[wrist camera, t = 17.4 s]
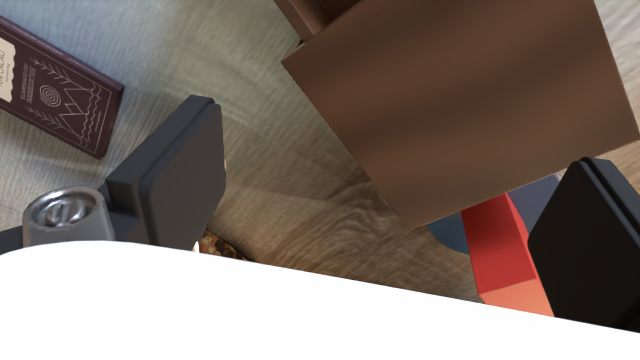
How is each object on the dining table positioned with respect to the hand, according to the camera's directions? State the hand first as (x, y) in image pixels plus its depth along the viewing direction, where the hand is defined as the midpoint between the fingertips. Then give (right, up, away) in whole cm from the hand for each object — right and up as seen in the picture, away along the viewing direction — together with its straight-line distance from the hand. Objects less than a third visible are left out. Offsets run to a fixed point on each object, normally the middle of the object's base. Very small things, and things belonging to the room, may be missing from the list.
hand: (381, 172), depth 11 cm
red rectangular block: (+14, -3, +25) cm, 29 cm away
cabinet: (+7, +10, +18) cm, 22 cm away
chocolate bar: (-29, +10, +25) cm, 40 cm away
